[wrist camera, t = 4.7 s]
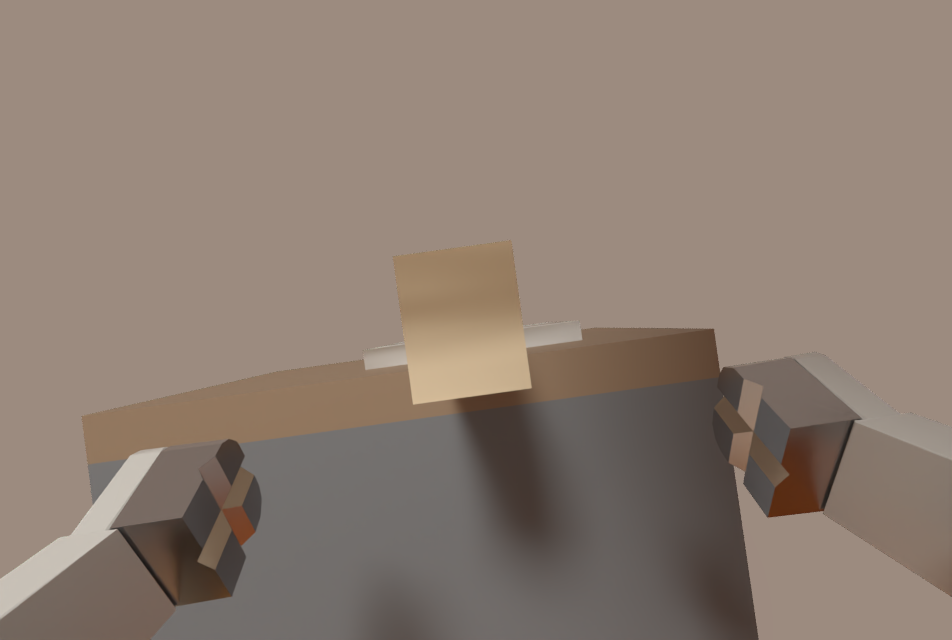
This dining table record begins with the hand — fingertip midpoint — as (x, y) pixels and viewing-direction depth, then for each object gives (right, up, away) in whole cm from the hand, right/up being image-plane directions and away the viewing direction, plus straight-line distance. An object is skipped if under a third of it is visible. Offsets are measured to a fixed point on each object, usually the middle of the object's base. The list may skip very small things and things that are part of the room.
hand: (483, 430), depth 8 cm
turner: (0, 0, +11) cm, 11 cm away
